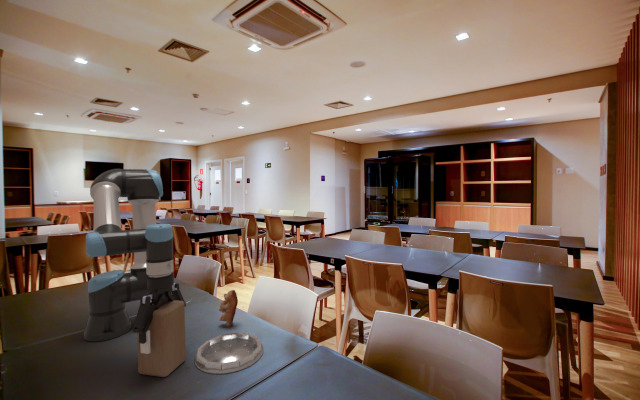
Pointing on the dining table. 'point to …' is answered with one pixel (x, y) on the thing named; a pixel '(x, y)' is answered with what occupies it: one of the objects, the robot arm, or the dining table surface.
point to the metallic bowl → (228, 353)
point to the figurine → (228, 307)
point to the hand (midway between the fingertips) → (162, 341)
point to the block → (164, 340)
